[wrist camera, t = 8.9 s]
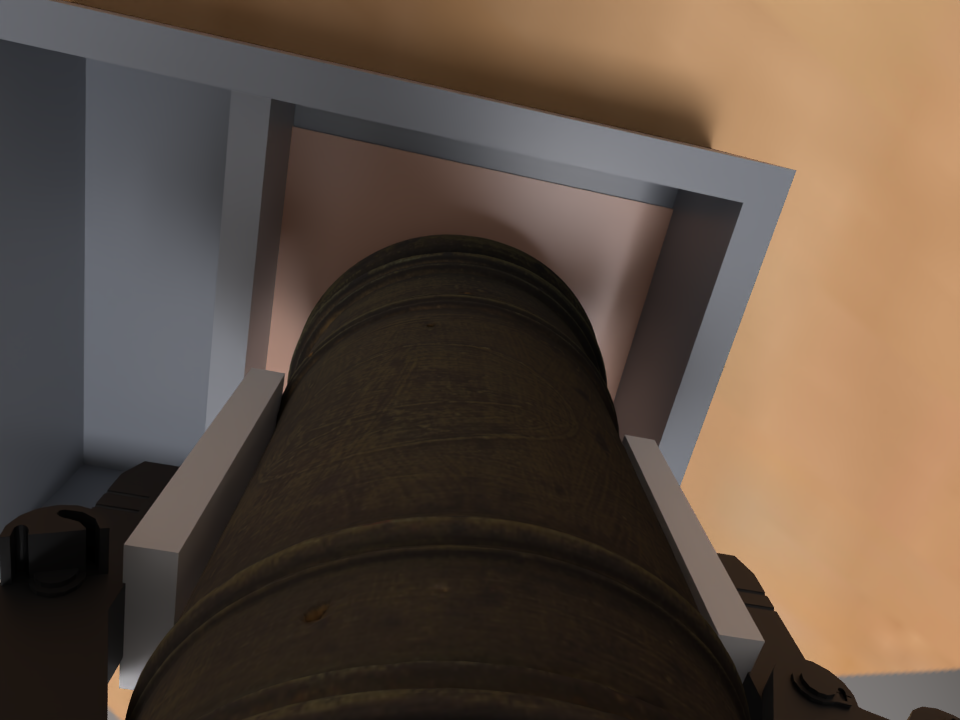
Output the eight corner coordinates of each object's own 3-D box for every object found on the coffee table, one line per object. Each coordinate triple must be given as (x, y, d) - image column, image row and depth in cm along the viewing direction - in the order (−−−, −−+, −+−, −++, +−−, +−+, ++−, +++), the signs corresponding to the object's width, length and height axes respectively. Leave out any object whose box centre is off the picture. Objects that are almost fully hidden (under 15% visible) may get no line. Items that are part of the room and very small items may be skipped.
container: (243, 352, 21) (-556, 1359, 4) (473, 162, 19) (570, 675, 3) (433, 540, 24) (376, 1598, 7) (650, 390, 22) (1251, 1350, 5)
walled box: (67, 1, 20) (-79, -29, 15) (712, 148, 22) (796, 170, 17) (68, 468, 26) (-38, 573, 20) (582, 551, 28) (613, 667, 23)
